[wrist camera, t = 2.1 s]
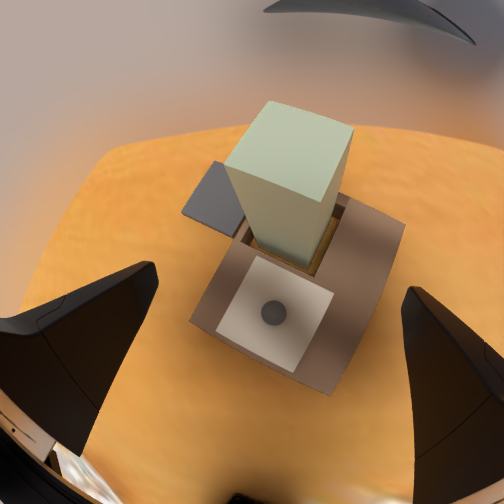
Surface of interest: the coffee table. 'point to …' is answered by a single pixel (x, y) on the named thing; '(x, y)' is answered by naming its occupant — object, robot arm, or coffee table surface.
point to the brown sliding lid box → (303, 298)
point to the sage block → (289, 178)
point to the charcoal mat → (216, 202)
